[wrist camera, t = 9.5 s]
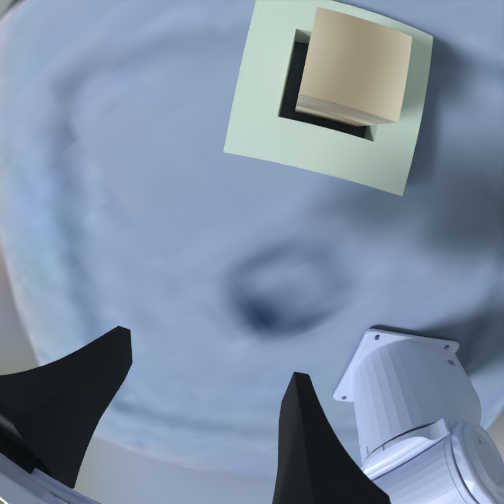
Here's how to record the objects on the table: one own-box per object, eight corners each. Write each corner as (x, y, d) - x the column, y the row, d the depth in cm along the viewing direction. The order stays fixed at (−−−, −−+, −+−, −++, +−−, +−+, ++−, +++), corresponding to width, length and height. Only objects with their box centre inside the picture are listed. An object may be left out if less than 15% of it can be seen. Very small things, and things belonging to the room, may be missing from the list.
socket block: (417, 46, 14) (433, 36, 11) (388, 188, 17) (402, 196, 15) (263, 4, 14) (259, -13, 12) (232, 149, 18) (223, 152, 15)
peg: (364, 73, 15) (412, 36, 8) (353, 126, 16) (398, 122, 9) (306, 57, 15) (316, 6, 8) (294, 111, 16) (299, 93, 9)
